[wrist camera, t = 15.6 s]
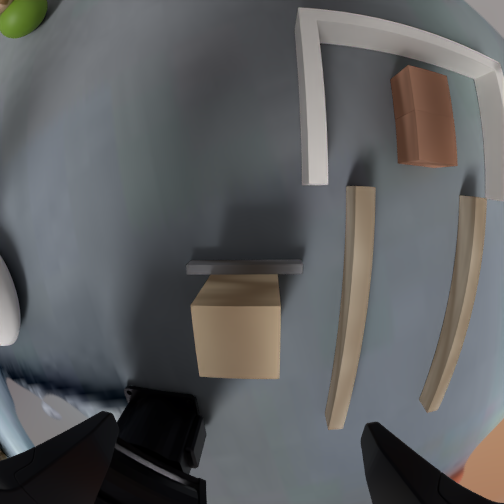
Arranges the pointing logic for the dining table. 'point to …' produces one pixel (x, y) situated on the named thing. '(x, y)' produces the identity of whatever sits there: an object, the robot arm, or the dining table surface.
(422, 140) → the brown cube
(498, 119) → the tray
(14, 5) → the snail figurine
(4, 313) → the flower in vase
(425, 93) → the chip
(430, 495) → the robot arm
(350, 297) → the channel
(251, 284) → the scraper
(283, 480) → the dining table surface
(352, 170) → the dining table surface
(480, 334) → the dining table surface
